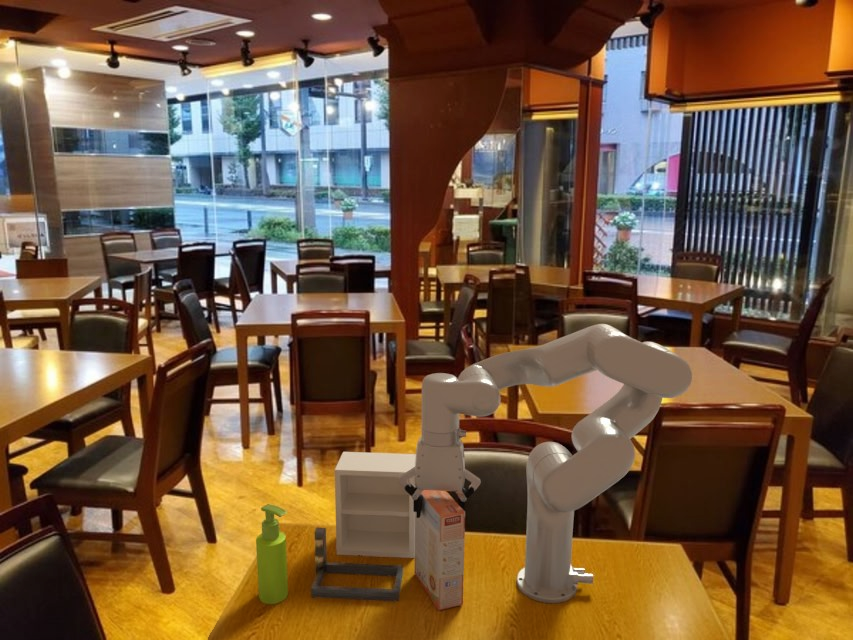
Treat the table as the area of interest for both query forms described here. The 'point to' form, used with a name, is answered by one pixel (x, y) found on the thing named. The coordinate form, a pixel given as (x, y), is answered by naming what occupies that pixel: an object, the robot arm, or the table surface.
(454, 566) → the cracker box
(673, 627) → the table surface
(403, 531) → the cabinet
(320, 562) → the dark gray rectangular frame
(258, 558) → the soap dispenser
